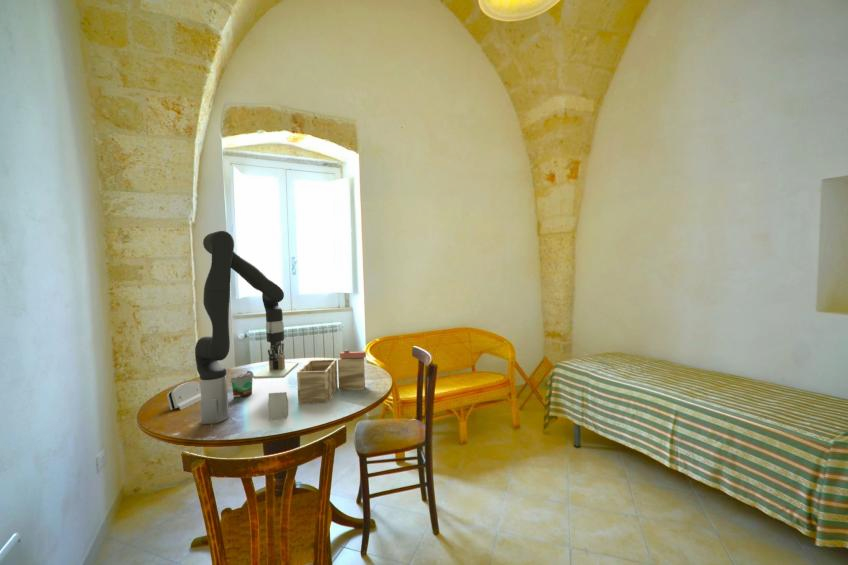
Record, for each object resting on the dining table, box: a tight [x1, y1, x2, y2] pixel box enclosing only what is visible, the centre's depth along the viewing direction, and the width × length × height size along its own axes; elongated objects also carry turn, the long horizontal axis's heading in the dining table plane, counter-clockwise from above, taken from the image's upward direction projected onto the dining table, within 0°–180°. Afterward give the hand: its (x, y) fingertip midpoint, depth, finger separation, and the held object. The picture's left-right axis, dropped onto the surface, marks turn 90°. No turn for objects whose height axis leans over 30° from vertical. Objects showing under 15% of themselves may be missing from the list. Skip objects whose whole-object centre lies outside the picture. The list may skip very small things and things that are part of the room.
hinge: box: [166, 380, 201, 411], centre depth 170 cm, size 17×5×10 cm, turn 173°
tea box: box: [267, 391, 290, 421], centre depth 151 cm, size 4×7×10 cm, turn 97°
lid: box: [253, 354, 299, 380], centre depth 172 cm, size 20×13×8 cm, turn 1°
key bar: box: [339, 349, 367, 359], centre depth 182 cm, size 2×12×4 cm, turn 91°
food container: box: [230, 370, 255, 400], centre depth 177 cm, size 12×6×10 cm, turn 168°
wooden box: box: [296, 356, 366, 405], centre depth 175 cm, size 20×26×15 cm
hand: (277, 367), depth 172 cm, fingers closed on lid, 3 cm apart
